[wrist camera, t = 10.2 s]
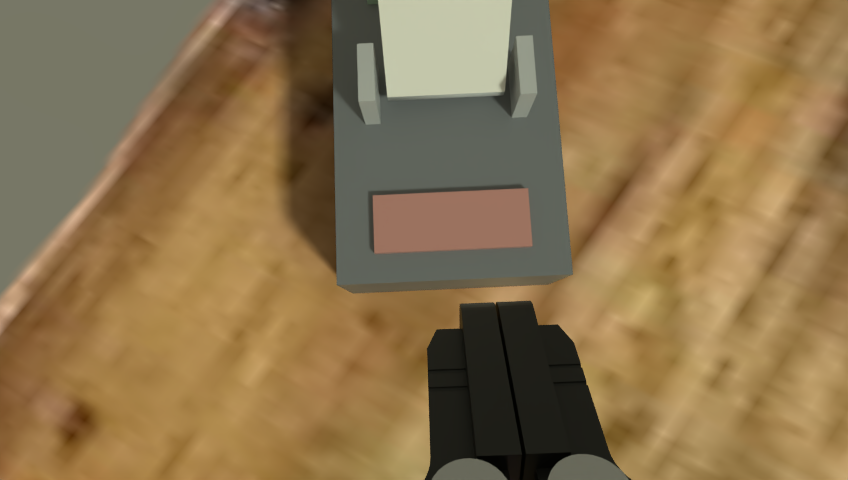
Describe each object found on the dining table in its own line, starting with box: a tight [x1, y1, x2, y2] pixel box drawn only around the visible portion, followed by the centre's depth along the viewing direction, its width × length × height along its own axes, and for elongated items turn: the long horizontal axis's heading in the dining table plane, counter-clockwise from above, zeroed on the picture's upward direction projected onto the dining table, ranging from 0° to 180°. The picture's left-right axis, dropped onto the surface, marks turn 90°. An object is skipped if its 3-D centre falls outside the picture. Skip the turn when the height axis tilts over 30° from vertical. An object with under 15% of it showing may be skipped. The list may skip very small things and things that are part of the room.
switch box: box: [332, 0, 573, 293], centre depth 31 cm, size 20×12×9 cm, turn 3°
